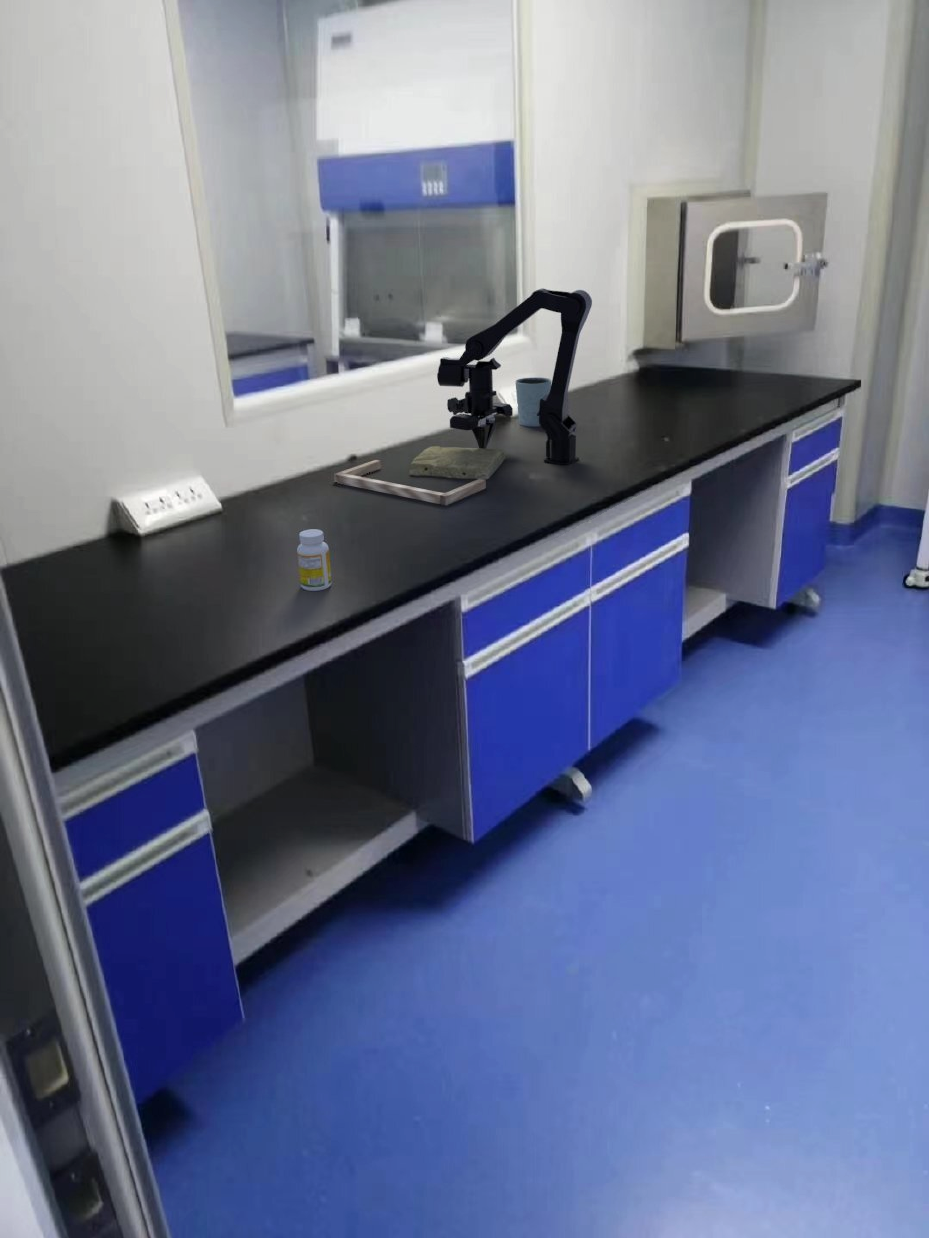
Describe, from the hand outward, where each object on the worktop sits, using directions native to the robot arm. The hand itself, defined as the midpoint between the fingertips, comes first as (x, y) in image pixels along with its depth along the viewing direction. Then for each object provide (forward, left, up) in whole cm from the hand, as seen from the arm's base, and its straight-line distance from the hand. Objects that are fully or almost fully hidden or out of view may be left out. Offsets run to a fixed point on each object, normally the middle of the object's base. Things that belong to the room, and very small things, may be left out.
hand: (482, 450), depth 234 cm
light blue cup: (+9, -36, -2) cm, 38 cm away
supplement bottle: (-25, +83, -2) cm, 86 cm away
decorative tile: (0, +11, -2) cm, 11 cm away
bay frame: (0, +29, -2) cm, 29 cm away
